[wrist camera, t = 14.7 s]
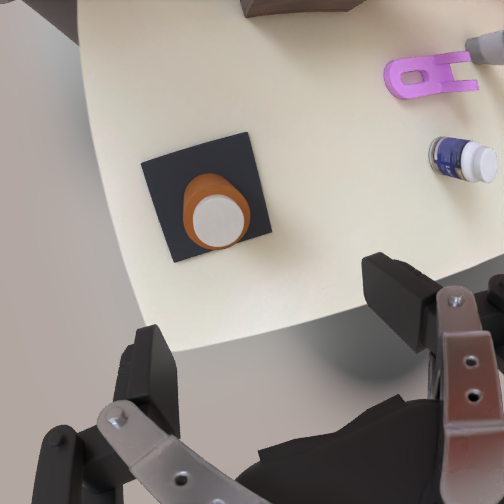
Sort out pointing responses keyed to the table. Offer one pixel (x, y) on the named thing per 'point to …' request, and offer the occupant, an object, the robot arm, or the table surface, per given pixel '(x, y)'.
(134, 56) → the table surface
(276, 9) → the chest
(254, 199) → the mat
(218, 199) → the bottle
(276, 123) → the table surface
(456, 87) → the bracket
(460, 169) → the pill bottle
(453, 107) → the table surface
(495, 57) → the cup
